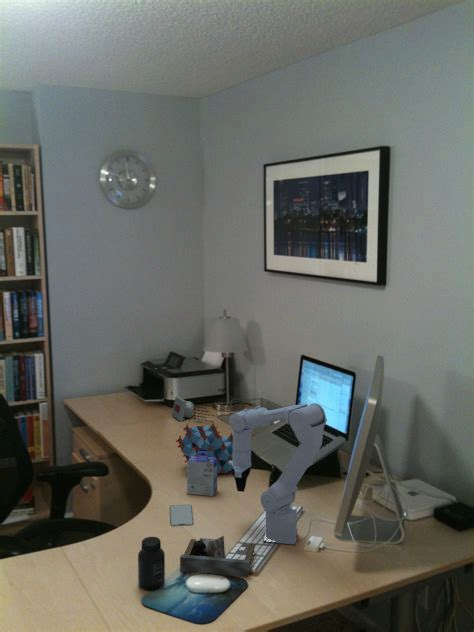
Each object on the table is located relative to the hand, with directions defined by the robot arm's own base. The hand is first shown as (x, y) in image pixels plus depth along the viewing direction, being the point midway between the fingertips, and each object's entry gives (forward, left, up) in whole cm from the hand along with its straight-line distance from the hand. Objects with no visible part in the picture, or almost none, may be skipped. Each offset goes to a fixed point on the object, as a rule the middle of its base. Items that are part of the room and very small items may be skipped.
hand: (240, 490), depth 202 cm
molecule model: (+18, -42, -11) cm, 46 cm away
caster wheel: (+6, +23, -11) cm, 26 cm away
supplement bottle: (+18, +39, -11) cm, 44 cm away
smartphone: (+20, -2, -11) cm, 23 cm away
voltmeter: (+38, -103, -11) cm, 110 cm away
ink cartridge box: (+17, -21, -11) cm, 29 cm away
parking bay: (+3, +24, -10) cm, 26 cm away
